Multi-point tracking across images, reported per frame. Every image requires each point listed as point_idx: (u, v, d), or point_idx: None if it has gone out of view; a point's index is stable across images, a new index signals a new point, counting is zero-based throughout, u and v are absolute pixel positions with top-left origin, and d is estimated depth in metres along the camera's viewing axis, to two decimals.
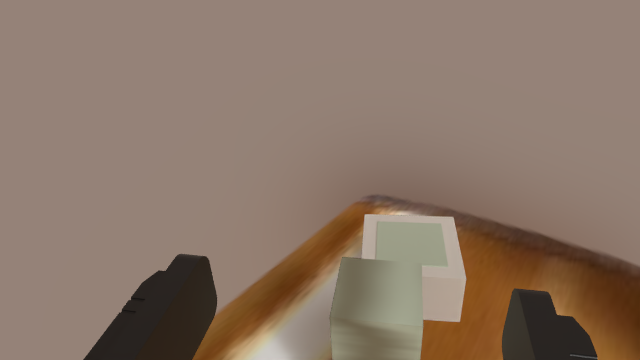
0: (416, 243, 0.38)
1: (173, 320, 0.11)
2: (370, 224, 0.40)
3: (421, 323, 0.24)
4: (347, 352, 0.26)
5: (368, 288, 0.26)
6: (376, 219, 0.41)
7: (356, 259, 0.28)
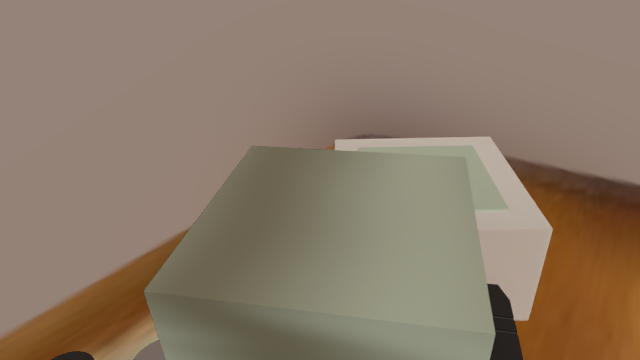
0: None
1: None
2: None
3: (486, 321, 0.06)
4: None
5: (304, 211, 0.08)
6: (355, 145, 0.23)
7: (288, 150, 0.11)
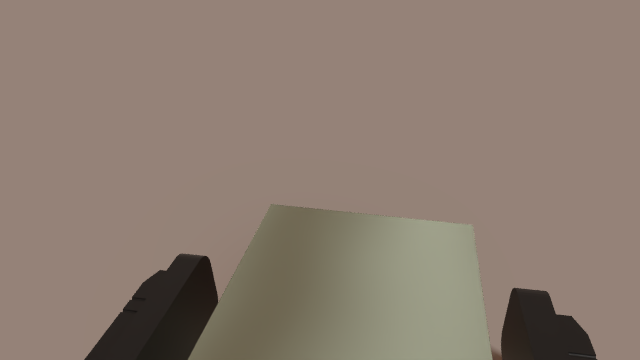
0: None
1: (174, 319, 0.11)
2: None
3: None
4: None
5: (324, 284, 0.09)
6: None
7: (305, 210, 0.11)
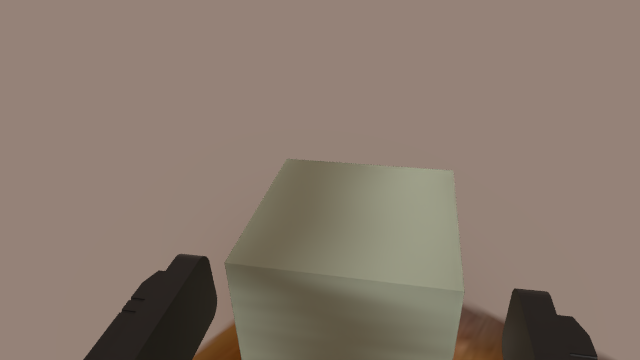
0: None
1: (173, 320, 0.11)
2: None
3: (459, 284, 0.09)
4: (274, 355, 0.11)
5: (332, 210, 0.11)
6: None
7: (315, 162, 0.14)
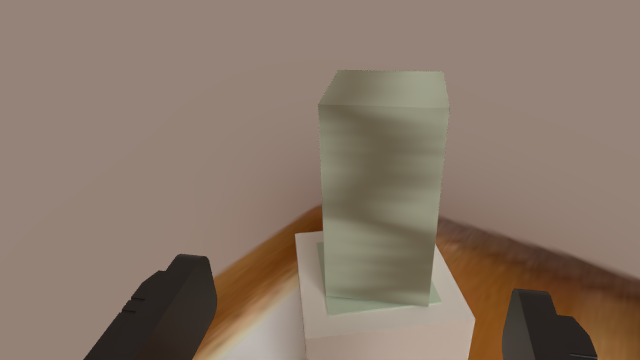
0: None
1: (172, 320, 0.11)
2: (306, 249, 0.26)
3: (447, 106, 0.17)
4: (341, 168, 0.19)
5: (372, 87, 0.19)
6: (313, 239, 0.27)
7: (357, 71, 0.22)
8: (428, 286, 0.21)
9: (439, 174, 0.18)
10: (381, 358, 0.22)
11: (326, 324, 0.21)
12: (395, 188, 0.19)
